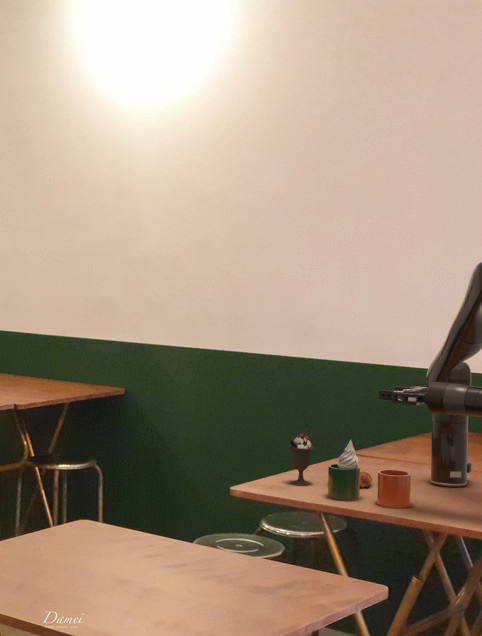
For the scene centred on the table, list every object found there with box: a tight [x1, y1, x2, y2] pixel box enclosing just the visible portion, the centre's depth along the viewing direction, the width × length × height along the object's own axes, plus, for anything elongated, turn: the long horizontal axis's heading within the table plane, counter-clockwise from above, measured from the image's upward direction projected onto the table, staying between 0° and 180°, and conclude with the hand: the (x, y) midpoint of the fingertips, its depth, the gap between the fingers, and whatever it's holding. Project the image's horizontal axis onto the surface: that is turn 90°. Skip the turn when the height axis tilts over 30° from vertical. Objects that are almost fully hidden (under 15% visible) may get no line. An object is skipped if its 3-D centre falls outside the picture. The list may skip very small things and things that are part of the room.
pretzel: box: [360, 471, 373, 488], centre depth 294 cm, size 12×11×4 cm
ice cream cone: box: [336, 439, 359, 469], centre depth 279 cm, size 5×5×15 cm
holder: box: [376, 469, 412, 509], centre depth 272 cm, size 8×8×8 cm
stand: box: [327, 463, 361, 502], centre depth 280 cm, size 8×8×8 cm
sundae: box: [288, 427, 315, 486], centre depth 296 cm, size 7×7×15 cm
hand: (387, 392), depth 271 cm, fingers open, 8 cm apart
